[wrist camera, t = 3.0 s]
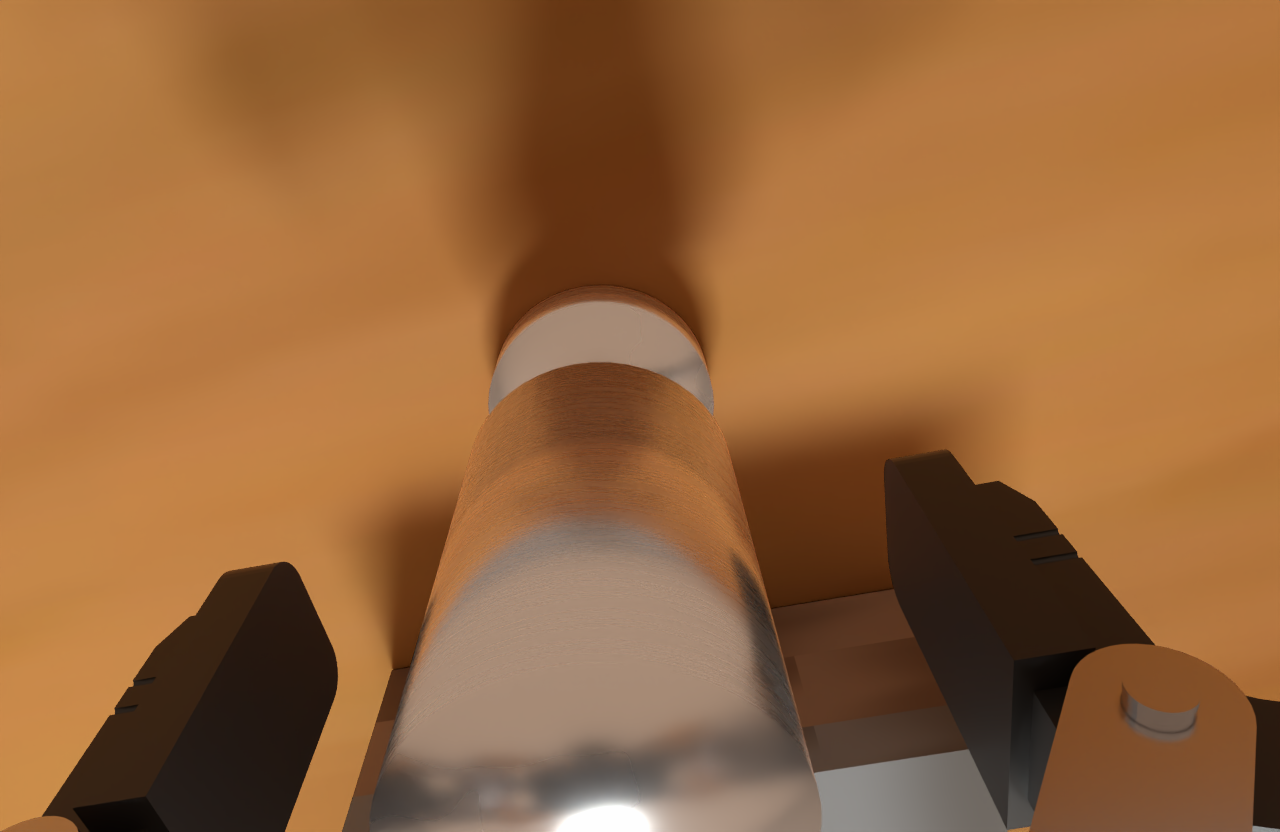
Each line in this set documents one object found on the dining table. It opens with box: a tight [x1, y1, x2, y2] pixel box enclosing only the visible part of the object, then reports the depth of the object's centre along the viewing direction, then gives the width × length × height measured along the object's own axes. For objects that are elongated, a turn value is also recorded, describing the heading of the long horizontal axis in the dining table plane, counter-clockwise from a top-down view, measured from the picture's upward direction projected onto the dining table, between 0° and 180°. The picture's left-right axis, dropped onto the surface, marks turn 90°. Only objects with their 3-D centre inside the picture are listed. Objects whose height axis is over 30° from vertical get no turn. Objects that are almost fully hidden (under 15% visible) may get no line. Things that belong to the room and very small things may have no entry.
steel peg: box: [370, 285, 822, 832], centre depth 12 cm, size 4×4×9 cm
